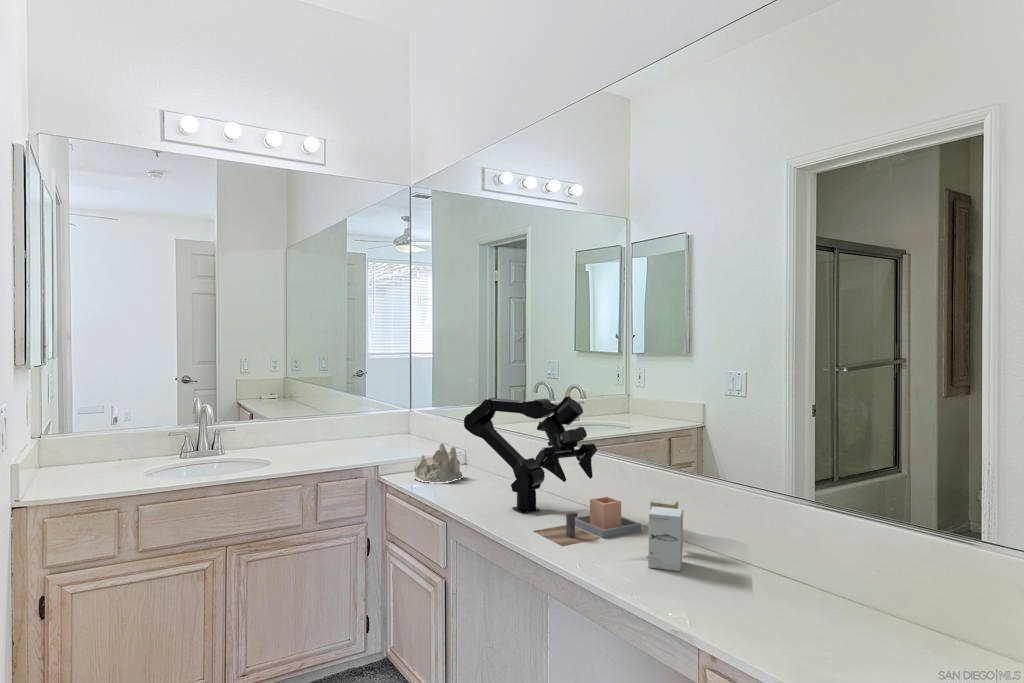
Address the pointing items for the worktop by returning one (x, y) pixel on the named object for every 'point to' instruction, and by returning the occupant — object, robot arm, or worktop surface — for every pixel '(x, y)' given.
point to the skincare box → (663, 503)
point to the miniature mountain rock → (439, 466)
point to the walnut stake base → (562, 535)
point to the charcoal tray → (627, 528)
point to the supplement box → (665, 538)
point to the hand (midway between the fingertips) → (578, 479)
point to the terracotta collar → (605, 513)
